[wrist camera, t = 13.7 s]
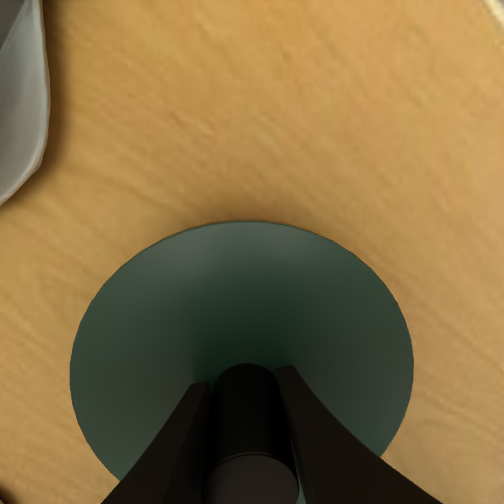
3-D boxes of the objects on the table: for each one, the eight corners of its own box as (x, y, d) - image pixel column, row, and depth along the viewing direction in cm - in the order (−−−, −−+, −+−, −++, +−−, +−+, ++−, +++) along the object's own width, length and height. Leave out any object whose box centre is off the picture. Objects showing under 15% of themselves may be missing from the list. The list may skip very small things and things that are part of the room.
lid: (460, 332, 11) (605, 426, 7) (279, 533, 13) (300, 708, 9) (197, 143, 9) (160, 101, 5) (29, 413, 11) (-110, 562, 7)
